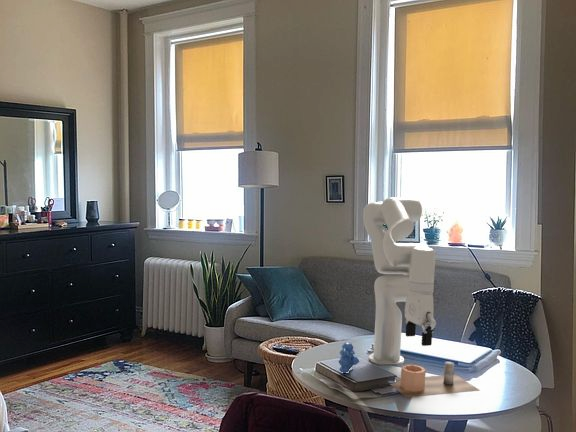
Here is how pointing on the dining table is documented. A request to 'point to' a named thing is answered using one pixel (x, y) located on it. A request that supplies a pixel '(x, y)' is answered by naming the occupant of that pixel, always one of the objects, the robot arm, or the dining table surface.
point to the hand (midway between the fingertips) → (418, 340)
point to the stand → (439, 384)
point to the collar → (413, 378)
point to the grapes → (347, 357)
